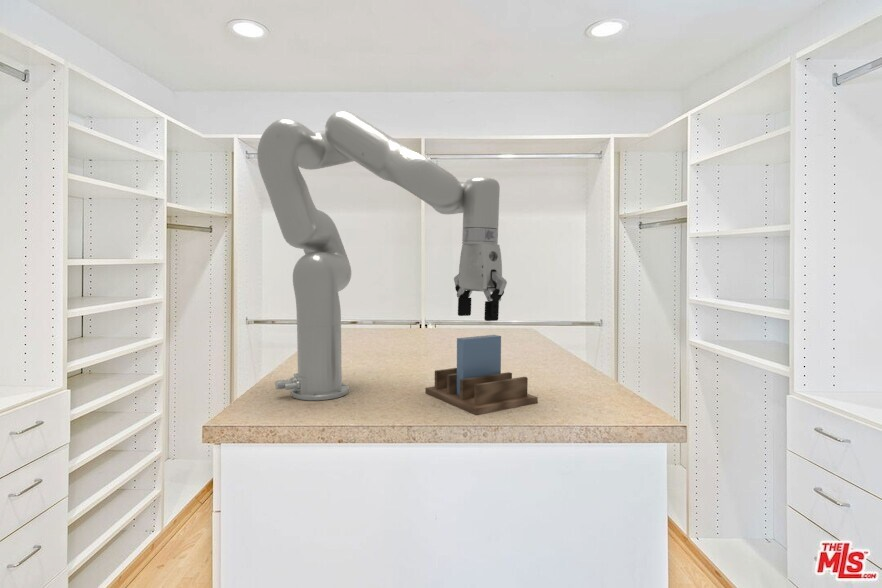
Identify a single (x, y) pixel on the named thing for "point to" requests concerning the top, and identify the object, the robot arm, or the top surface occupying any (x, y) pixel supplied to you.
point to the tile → (478, 357)
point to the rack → (481, 391)
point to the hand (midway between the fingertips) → (477, 318)
